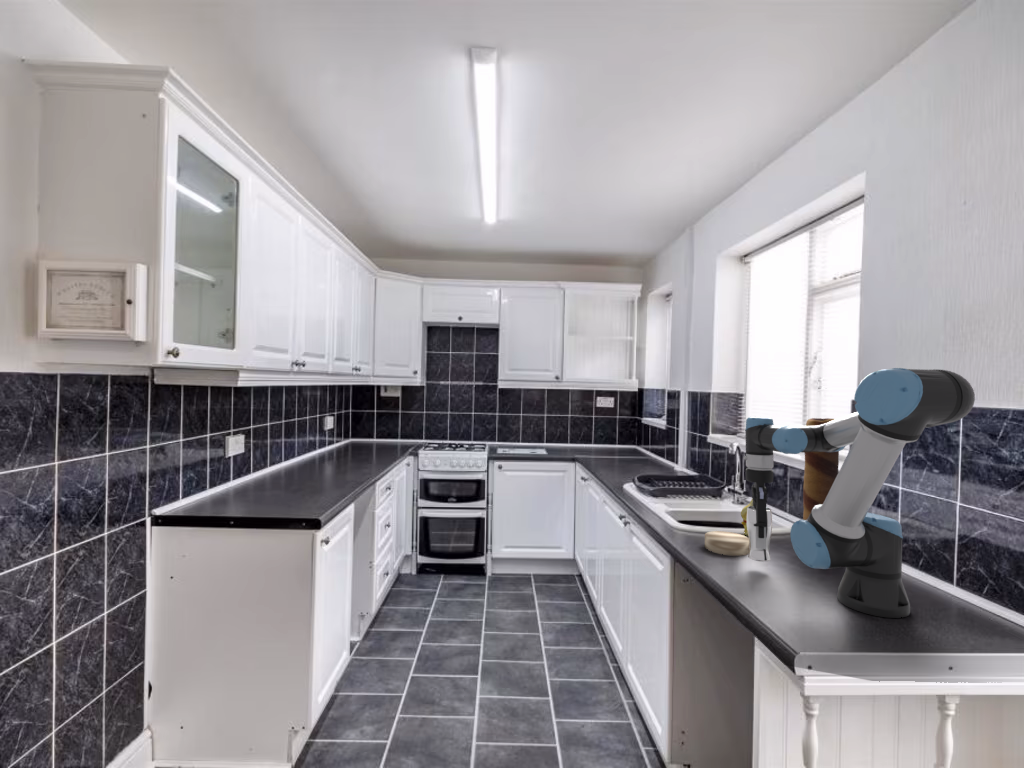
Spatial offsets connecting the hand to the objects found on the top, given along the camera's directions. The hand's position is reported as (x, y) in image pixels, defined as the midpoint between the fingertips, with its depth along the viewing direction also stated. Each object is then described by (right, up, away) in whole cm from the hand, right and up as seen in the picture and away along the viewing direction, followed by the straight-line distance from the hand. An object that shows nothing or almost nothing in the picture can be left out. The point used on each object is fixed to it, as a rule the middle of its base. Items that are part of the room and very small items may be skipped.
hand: (759, 544), depth 153 cm
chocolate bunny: (+16, -8, +35) cm, 39 cm away
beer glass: (0, -4, 0) cm, 4 cm away
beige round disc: (-1, -8, +20) cm, 22 cm away
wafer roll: (+28, -8, +17) cm, 34 cm away
